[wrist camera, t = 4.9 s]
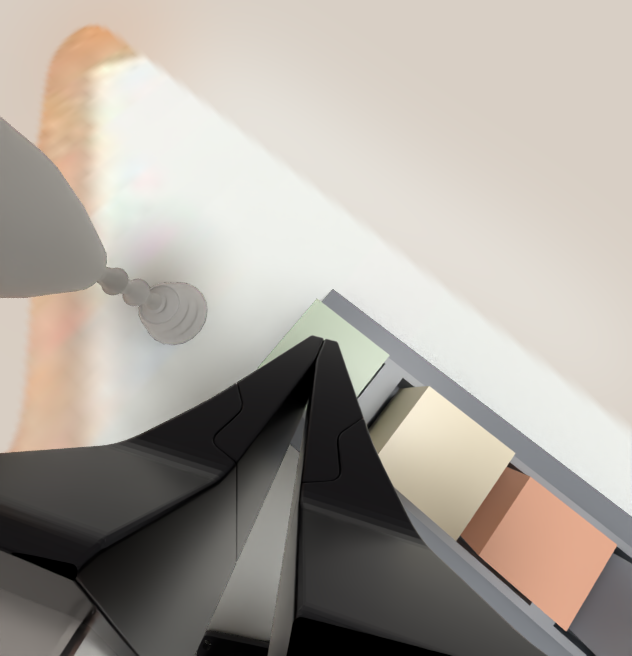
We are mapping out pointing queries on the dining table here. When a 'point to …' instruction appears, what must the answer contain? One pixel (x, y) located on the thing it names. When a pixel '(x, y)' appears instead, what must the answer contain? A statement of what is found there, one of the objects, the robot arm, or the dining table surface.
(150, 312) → the chalice
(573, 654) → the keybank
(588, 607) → the key blue
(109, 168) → the dining table surface
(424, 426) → the block
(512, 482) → the peach rectangular block
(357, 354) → the key sage
